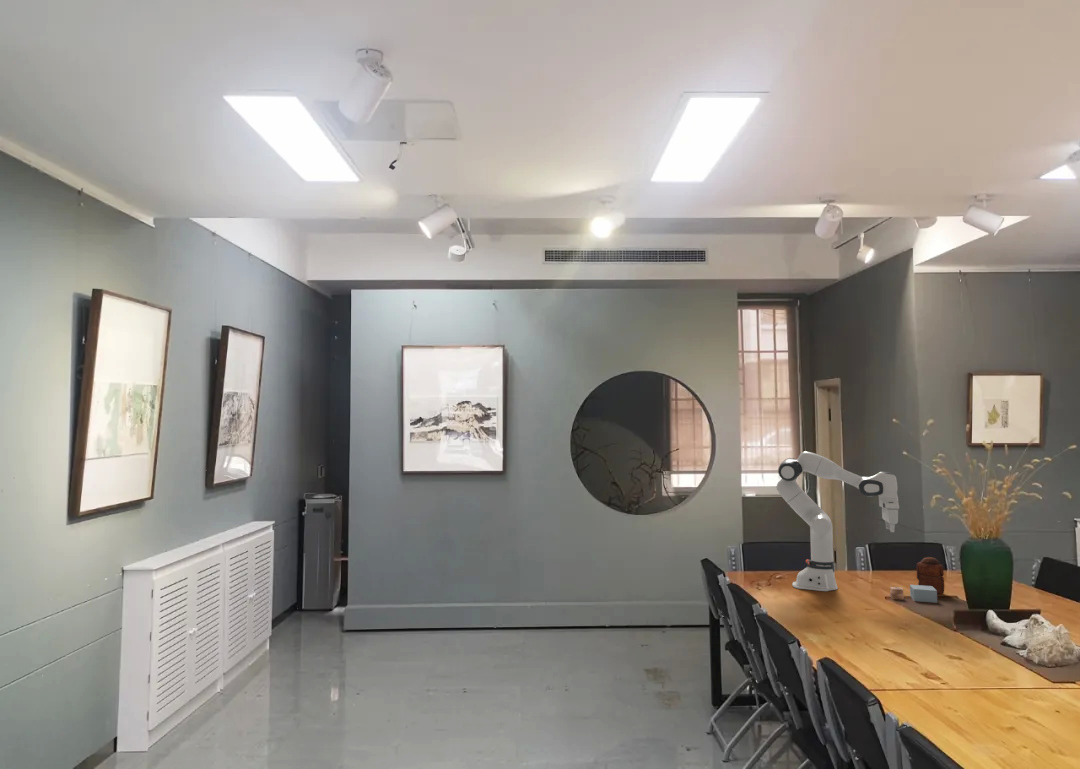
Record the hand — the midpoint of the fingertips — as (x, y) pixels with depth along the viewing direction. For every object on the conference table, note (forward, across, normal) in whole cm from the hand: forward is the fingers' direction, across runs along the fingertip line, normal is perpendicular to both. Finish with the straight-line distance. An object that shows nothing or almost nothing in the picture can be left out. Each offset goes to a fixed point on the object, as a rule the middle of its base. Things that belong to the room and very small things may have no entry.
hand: (890, 530), depth 337 cm
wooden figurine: (+33, -12, +19) cm, 40 cm away
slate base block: (+33, +5, +12) cm, 35 cm away
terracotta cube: (+33, +6, 0) cm, 33 cm away
